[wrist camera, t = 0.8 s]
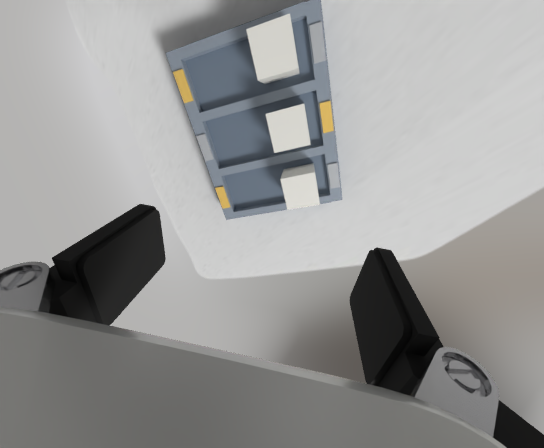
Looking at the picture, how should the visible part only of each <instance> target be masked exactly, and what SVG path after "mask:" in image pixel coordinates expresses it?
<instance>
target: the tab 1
mask: <svg viewBox="0 0 544 448" xmlns="http://www.w3.org/2000/svg"><path fill="white" fill-rule="evenodd" d="M246 31H247V35H248V40H249V44H250V49H251V53H252V57H253V62H254V66H255V70H256V75H257V79H258V81H260V82H262V83H264V84H267V83H270V82H274V81H277V80H280V79H284V78H287V77H290V76H294V75H297V74H300V73H299V66H298V60H297V53H296V47H295V41H294V34H293V28H292V22H291V16H290V14H287V15H284V16H281V17H279V18H276V19H273V20H270V21H268V22H265V23H262V24H259V25H257V26H254V27H251V28H248V29H246Z"/></svg>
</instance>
